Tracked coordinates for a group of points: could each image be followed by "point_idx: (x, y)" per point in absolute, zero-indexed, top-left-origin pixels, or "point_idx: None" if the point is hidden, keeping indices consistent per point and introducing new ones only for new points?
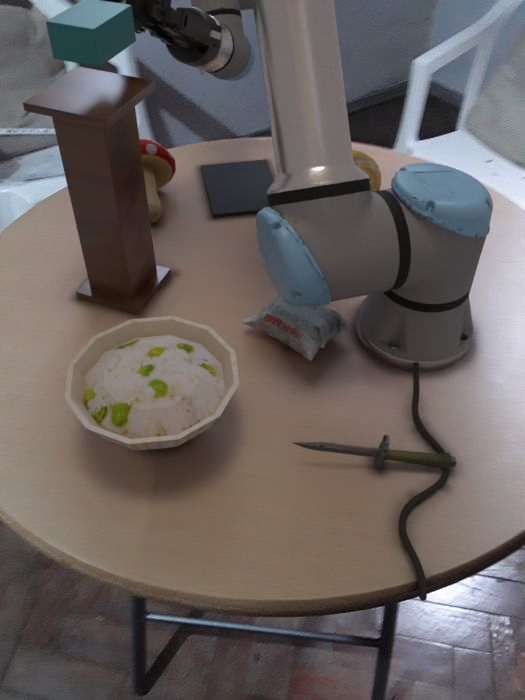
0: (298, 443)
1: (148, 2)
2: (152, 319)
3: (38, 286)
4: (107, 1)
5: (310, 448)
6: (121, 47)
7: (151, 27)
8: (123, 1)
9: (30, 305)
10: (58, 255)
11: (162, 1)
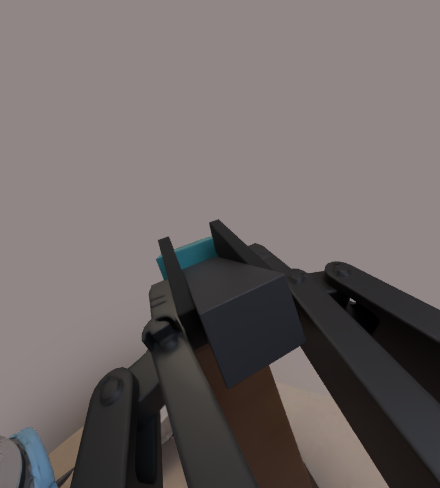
0: (70, 470)
1: (165, 281)
2: (167, 413)
3: (320, 419)
4: (193, 245)
5: (63, 481)
6: None
7: (383, 470)
8: (226, 263)
9: (298, 404)
10: (372, 463)
11: (170, 321)
